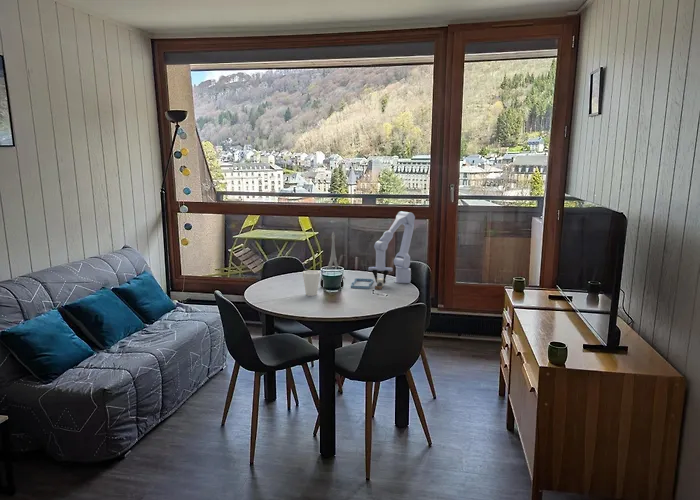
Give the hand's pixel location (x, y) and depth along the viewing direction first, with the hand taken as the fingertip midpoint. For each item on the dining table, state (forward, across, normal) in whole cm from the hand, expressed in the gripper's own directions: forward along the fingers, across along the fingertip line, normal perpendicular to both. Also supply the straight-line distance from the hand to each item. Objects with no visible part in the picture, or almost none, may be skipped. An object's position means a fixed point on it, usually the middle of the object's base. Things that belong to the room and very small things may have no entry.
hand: (380, 282), depth 304 cm
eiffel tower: (+2, -33, +17) cm, 37 cm away
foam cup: (+2, -36, -28) cm, 46 cm away
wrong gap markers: (+2, 0, 0) cm, 2 cm away
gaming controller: (+2, -28, -10) cm, 30 cm away
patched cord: (+2, 0, 0) cm, 2 cm away
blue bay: (+2, -11, 0) cm, 11 cm away
